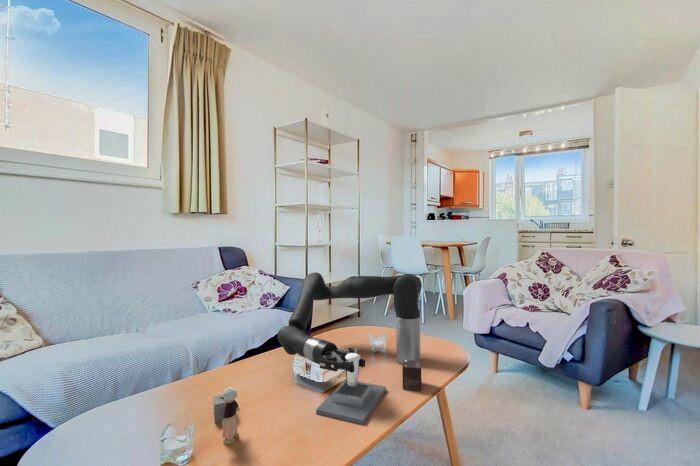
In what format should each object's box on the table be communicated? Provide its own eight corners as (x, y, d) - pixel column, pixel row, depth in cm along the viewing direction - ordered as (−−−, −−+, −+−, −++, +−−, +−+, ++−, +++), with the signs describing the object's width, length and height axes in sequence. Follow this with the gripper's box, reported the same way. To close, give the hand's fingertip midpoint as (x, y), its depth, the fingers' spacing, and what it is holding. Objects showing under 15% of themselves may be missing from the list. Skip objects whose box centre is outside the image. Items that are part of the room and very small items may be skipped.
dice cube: (232, 409, 95) (232, 392, 95) (234, 418, 91) (234, 400, 91) (213, 414, 93) (213, 396, 93) (214, 423, 89) (214, 404, 89)
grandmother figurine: (226, 430, 85) (225, 381, 85) (242, 429, 85) (241, 380, 85) (217, 450, 77) (216, 396, 77) (234, 449, 78) (233, 395, 78)
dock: (345, 382, 111) (345, 371, 111) (385, 390, 105) (385, 378, 105) (316, 413, 92) (316, 400, 92) (363, 424, 87) (362, 410, 87)
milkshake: (362, 381, 101) (363, 348, 101) (357, 389, 96) (358, 354, 96) (348, 378, 102) (349, 346, 102) (342, 386, 97) (343, 352, 97)
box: (421, 391, 104) (421, 368, 104) (402, 389, 105) (402, 366, 105) (421, 382, 110) (421, 360, 110) (403, 381, 111) (402, 359, 111)
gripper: (303, 345, 103) (341, 360, 92) (335, 334, 114) (374, 347, 102) (303, 369, 103) (342, 387, 92) (336, 356, 114) (374, 371, 102)
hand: (358, 366), depth 97 cm, fingers closed on milkshake, 4 cm apart
